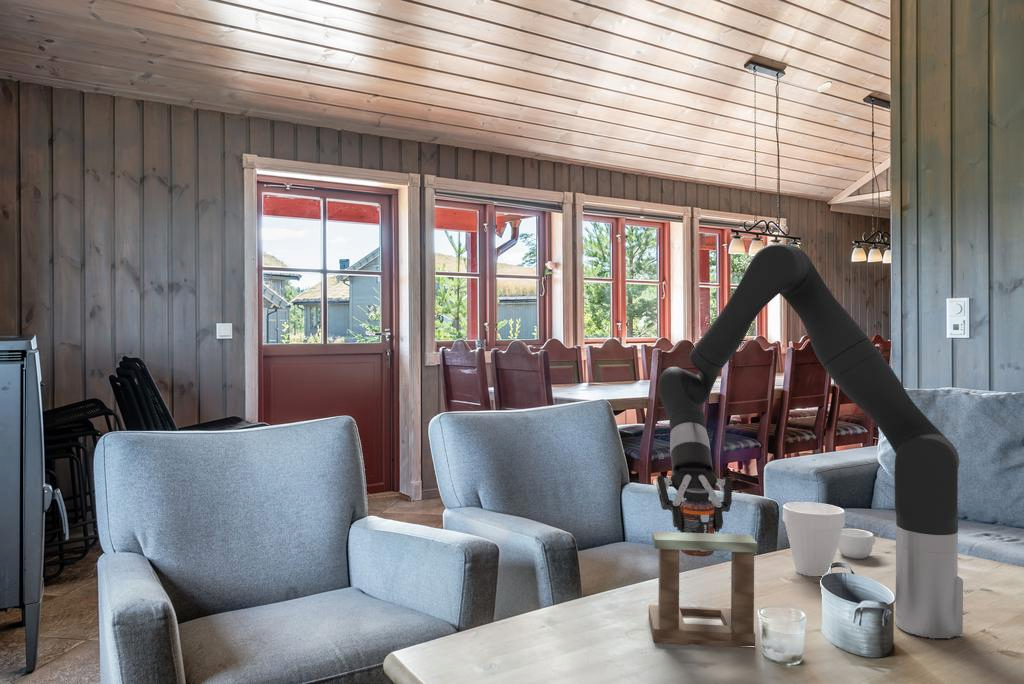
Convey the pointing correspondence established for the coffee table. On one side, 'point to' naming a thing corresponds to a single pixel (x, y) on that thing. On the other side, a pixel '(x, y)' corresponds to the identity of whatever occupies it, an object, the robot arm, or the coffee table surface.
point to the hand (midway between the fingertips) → (698, 528)
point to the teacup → (856, 543)
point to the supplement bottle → (697, 516)
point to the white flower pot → (813, 535)
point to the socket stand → (702, 621)
